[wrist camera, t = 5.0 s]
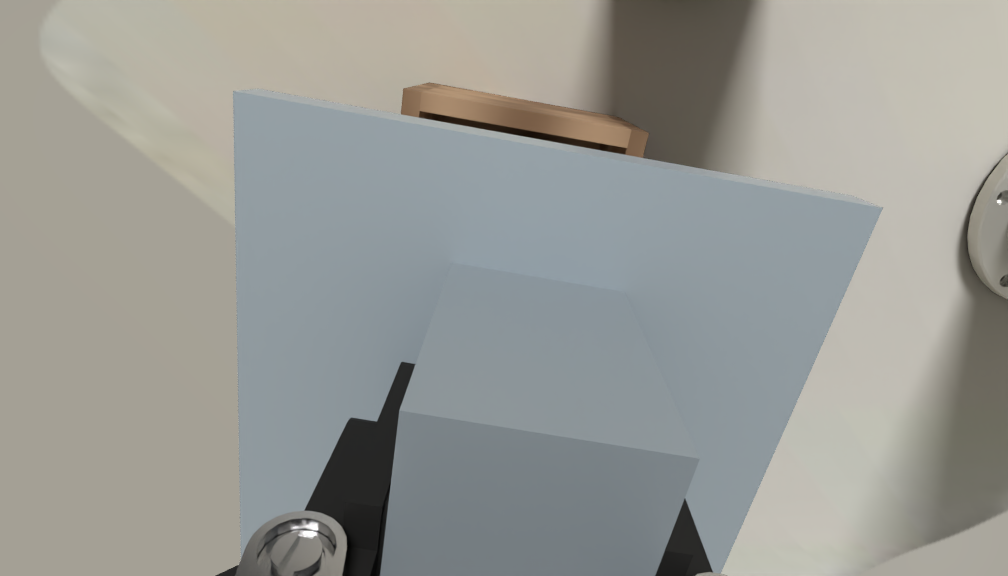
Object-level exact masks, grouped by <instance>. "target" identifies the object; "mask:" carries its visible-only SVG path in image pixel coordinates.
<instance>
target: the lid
mask: <svg viewBox="0 0 1008 576" xmlns="http://www.w3.org/2000/svg"><path fill="white" fill-rule="evenodd" d="M233 108H234V169H235V229H236V290H237V345H238V346H237V349H238V408H239V409H238V410H239V471H240V528H241V529H240V532H241V558H242V555H243V553H244V550H245V548H246V545H247V544H248V542H249V540H250V539H251V537H252V535H253V534H254V533H255V532H256V531H257V530H258V529H259V528H260V527H261V526H262V525H263V524H264V523H266V522H268V521H270V520H272V519H273V518H275V517H277V516H280V515H283V514H286V513H290V512H294V511H304V510H305V508H306V506H307V504H308V502H309V500H310V498H311V496H312V493H313V491H314V489H315V487H316V485H317V483H318V481H319V479H320V477H321V475H322V473H323V471H324V469H325V467H326V465H327V463H328V461H329V458H330V456H331V454H332V452H333V450H334V448H335V446H336V444H337V442H338V440H339V438H340V436H341V434H342V432H343V430H344V428H345V426H346V424H347V422H348V420H349V419H350V418H351V417H352V418H358V419H364V420H371V421H377V420H378V418H379V415H380V413H381V411H382V408H383V406H384V403H385V401H386V398H387V396H388V393H389V391H390V388H391V386H392V383H393V381H394V378H395V376H396V373H397V371H398V368H399V366H400V364H401V362H407V363H413V364H416V365H415V367H414V370H413V373H412V376H411V379H410V382H409V385H408V387H407V390H406V393H405V396H404V399H403V402H402V404H401V407H400V410H399V418H398V426H397V435H396V443H395V452H394V460H393V469H392V478H391V486H390V495H389V503H388V512H387V520H386V529H385V537H384V546H383V554H382V563H381V571H380V576H655V575H656V572H657V570H658V567H659V564H660V562H661V559H662V557H663V554H664V551H665V549H666V546H667V544H668V541H669V538H670V536H671V533H672V530H673V528H674V525H675V523H676V520H677V517H678V515H679V512H680V510H681V507H682V504H683V502H684V499H686V502H687V504H688V507H689V510H690V512H691V515H692V518H693V520H694V523H695V526H696V528H697V531H698V534H699V536H700V539H701V542H702V544H703V547H704V550H705V552H706V555H707V558H708V560H709V563H710V565H711V568H712V571H713V573H720V574H721V571H722V569H723V567H724V565H725V562H726V560H727V558H728V556H729V553H730V551H731V549H732V547H733V544H734V542H735V540H736V538H737V535H738V533H739V531H740V529H741V526H742V524H743V522H744V520H745V517H746V515H747V513H748V511H749V508H750V506H751V504H752V502H753V499H754V497H755V495H756V493H757V490H758V488H759V486H760V484H761V481H762V479H763V477H764V474H765V472H766V470H767V468H768V465H769V463H770V461H771V459H772V456H773V454H774V452H775V450H776V447H777V445H778V443H779V441H780V438H781V436H782V434H783V432H784V429H785V427H786V425H787V423H788V420H789V418H790V416H791V414H792V411H793V409H794V407H795V405H796V402H797V400H798V398H799V396H800V393H801V391H802V389H803V387H804V384H805V382H806V380H807V378H808V375H809V373H810V371H811V369H812V366H813V364H814V362H815V360H816V357H817V355H818V353H819V351H820V348H821V346H822V344H823V342H824V339H825V337H826V335H827V333H828V330H829V328H830V326H831V324H832V321H833V319H834V317H835V315H836V312H837V310H838V308H839V306H840V303H841V301H842V299H843V297H844V294H845V292H846V290H847V288H848V285H849V283H850V281H851V279H852V276H853V274H854V272H855V270H856V267H857V265H858V263H859V261H860V258H861V256H862V254H863V252H864V249H865V247H866V245H867V243H868V240H869V238H870V236H871V234H872V231H873V229H874V227H875V225H876V222H877V220H878V218H879V216H880V213H881V211H882V209H883V208H882V207H879V206H877V205H874V204H872V203H869V202H867V201H864V200H862V199H859V198H857V197H854V196H851V195H845V194H840V193H834V192H829V191H823V190H818V189H812V188H807V187H801V186H795V185H790V184H784V183H779V182H773V181H768V180H762V179H757V178H751V177H745V176H740V175H734V174H729V173H723V172H718V171H712V170H707V169H701V168H696V167H690V166H684V165H679V164H673V163H668V162H662V161H657V160H651V159H646V158H640V157H635V156H629V155H623V154H618V153H612V152H607V151H601V150H596V149H590V148H585V147H579V146H573V145H568V144H562V143H557V142H551V141H546V140H540V139H535V138H529V137H524V136H518V135H512V134H507V133H501V132H496V131H490V130H485V129H479V128H474V127H468V126H463V125H457V124H451V123H446V122H440V121H435V120H429V119H424V118H418V117H413V116H407V115H402V114H396V113H390V112H385V111H379V110H374V109H368V108H363V107H357V106H352V105H346V104H340V103H335V102H329V101H324V100H318V99H313V98H307V97H302V96H296V95H291V94H285V93H279V92H274V91H268V90H263V89H250V90H239V91H233Z"/></svg>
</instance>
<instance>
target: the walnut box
mask: <svg viewBox="0 0 1008 576" xmlns="http://www.w3.org/2000/svg"><path fill="white" fill-rule="evenodd" d="M401 114H402V115H407V116H413V117H418V118H424V119H429V120H435V121H440V122H446V123H451V124H457V125H463V126H468V127H474V128H479V129H485V130H490V131H496V132H501V133H507V134H512V135H518V136H524V137H529V138H535V139H540V140H546V141H551V142H557V143H562V144H568V145H573V146H579V147H585V148H590V149H596V150H601V151H607V152H612V153H618V154H623V155H629V156H635V157H640V158H643V154H644V151H645V147H646V143H647V139H648V135H649V133H648V132H646V131H644V130H642V129H640V128H638V127H636V126H634V125H632V124H631V123H629V122H627V121H625V120H623V119H621V118H619V117H615V116H610V115H604V114H599V113H593V112H588V111H582V110H577V109H572V108H566V107H561V106H555V105H550V104H544V103H539V102H533V101H528V100H522V99H517V98H511V97H506V96H500V95H495V94H489V93H484V92H478V91H473V90H467V89H462V88H456V87H451V86H445V85H440V84H434V83H426V84H422V85H417V86H413V87H408V88H404V89H403V98H402V109H401Z"/></svg>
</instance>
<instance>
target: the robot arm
mask: <svg viewBox="0 0 1008 576" xmlns="http://www.w3.org/2000/svg"><path fill="white" fill-rule="evenodd" d="M967 237H968V253H969V256H970V259H971V263H972V266H973V269H974V270H975V272H976V273H977V275H978V277H979V278H980V280H981V281H982V282H983V283H984V284H985V285H986V286H987V287H988V288H989V289H990V290H991V291H993V292H994V293H996V294H998V295H1000V296H1002V297H1003V298H1005V299H1007V300H1008V154H1007V155H1006V156H1005V157H1004V158H1003V159H1002V160H1001V161H1000V163H999V164H998V165H997V167H996V168H995V169H994V171H993V172H992V173H991V174H990V176H989V177H988V179H987V180H986V182H985V184H984V186H983V188H982V189H981V191H980V193H979V195H978V197H977V199H976V202H975V205H974V208H973V210H972V213H971V216H970V222H969V228H968V235H967ZM415 365H416V364H413V363H407V362H401V364H400V366H399V368H398V371H397V373H396V376H395V378H394V381H393V383H392V386H391V388H390V391H389V393H388V396H387V398H386V401H385V403H384V406H383V408H382V411H381V413H380V415H379V418H378V420H377V421H371V420H364V419H358V418H352V417H351V418H350V419H349V420H348V422H347V424H346V426H345V428H344V430H343V432H342V434H341V436H340V438H339V440H338V442H337V444H336V446H335V448H334V450H333V452H332V454H331V456H330V458H329V461H328V463H327V465H326V467H325V469H324V471H323V473H322V475H321V477H320V479H319V481H318V483H317V485H316V487H315V489H314V491H313V493H312V496H311V498H310V500H309V502H308V504H307V506H306V508H305V510H304V511H294V512H290V513H286V514H283V515H280V516H277V517H275V518H273V519H272V520H270V521H268V522H266V523H264V524H263V525H262V526H261V527H260V528H259V529H258V530H257V531H256V532H255V533H254V534H253V535H252V537H251V539H250V540H249V542H248V544H247V545H246V548H245V550H244V553H243V555H242V558H241V561H240V563H239V565H238V566H235V567H233V568H231V569H229V570H227V571H225V572H223V573H220V574H219V575H216V576H380V571H381V563H382V554H383V546H384V537H385V529H386V520H387V512H388V503H389V495H390V486H391V478H392V469H393V460H394V452H395V443H396V435H397V426H398V418H399V410H400V407H401V404H402V402H403V399H404V396H405V393H406V390H407V387H408V385H409V382H410V379H411V376H412V373H413V370H414V367H415ZM655 576H727V575H724V574H720V573H713V571H712V568H711V565H710V563H709V560H708V558H707V555H706V552H705V550H704V547H703V544H702V542H701V539H700V536H699V534H698V531H697V528H696V526H695V523H694V520H693V518H692V515H691V512H690V510H689V507H688V504H687V502H686V499H684V502H683V504H682V507H681V510H680V512H679V515H678V517H677V520H676V523H675V525H674V528H673V530H672V533H671V536H670V538H669V541H668V544H667V546H666V549H665V551H664V554H663V557H662V559H661V562H660V564H659V567H658V570H657V572H656V575H655Z"/></svg>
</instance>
